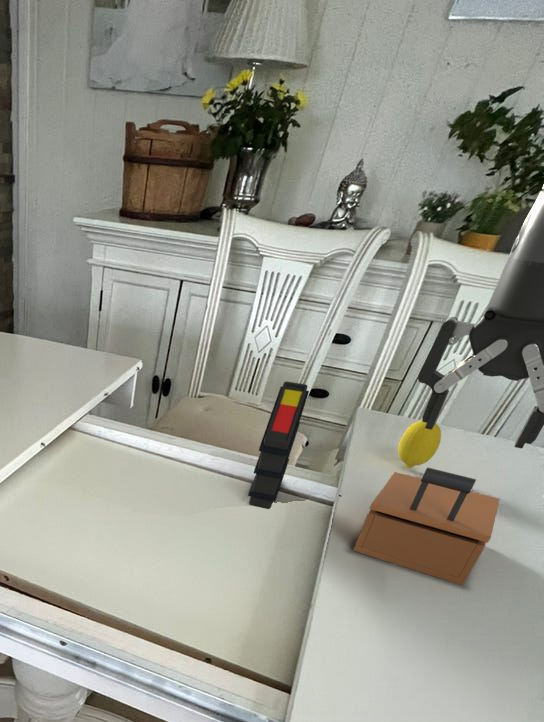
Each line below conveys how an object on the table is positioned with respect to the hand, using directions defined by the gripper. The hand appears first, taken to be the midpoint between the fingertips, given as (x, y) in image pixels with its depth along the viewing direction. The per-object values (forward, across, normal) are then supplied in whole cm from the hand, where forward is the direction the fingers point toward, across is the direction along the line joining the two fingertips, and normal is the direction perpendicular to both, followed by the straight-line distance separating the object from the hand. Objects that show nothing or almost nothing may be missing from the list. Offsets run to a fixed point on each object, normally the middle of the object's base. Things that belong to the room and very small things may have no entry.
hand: (472, 436), depth 63 cm
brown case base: (+16, 0, -5) cm, 17 cm away
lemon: (+12, +6, -32) cm, 35 cm away
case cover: (+10, 0, -5) cm, 11 cm away
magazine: (+16, +21, -6) cm, 27 cm away
